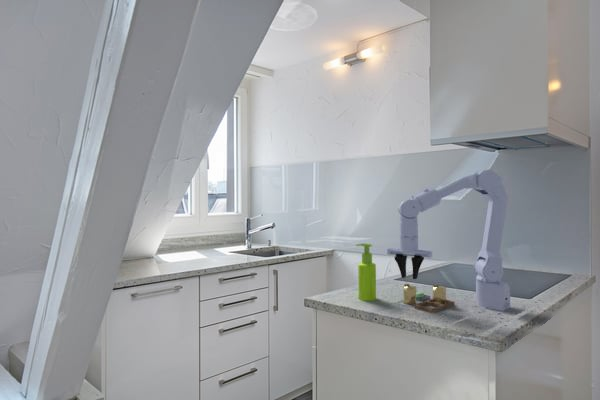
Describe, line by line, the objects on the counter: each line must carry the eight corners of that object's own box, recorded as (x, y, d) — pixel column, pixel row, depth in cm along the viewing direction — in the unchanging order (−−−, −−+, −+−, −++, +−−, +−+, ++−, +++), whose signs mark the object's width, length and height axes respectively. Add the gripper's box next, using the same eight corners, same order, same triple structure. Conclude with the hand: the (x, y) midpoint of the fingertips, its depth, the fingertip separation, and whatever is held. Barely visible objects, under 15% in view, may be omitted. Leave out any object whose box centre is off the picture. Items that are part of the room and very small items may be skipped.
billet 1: (418, 305, 128) (418, 285, 128) (411, 307, 126) (411, 286, 125) (408, 302, 131) (408, 283, 131) (400, 304, 129) (401, 284, 129)
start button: (425, 301, 133) (425, 293, 133) (421, 303, 131) (420, 294, 131) (418, 299, 136) (418, 291, 136) (413, 301, 134) (413, 293, 134)
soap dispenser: (363, 298, 140) (362, 242, 140) (379, 301, 135) (378, 243, 135) (352, 301, 135) (352, 243, 135) (369, 305, 131) (368, 245, 130)
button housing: (430, 302, 133) (430, 295, 133) (422, 305, 130) (422, 298, 130) (417, 299, 137) (417, 293, 137) (409, 302, 134) (408, 295, 134)
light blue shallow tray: (425, 306, 129) (425, 302, 129) (411, 311, 123) (411, 307, 123) (407, 302, 134) (407, 298, 134) (394, 306, 128) (394, 302, 128)
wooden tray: (456, 308, 125) (456, 301, 125) (435, 317, 117) (435, 309, 117) (433, 304, 131) (433, 297, 131) (412, 311, 123) (412, 304, 123)
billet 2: (448, 306, 126) (448, 285, 126) (442, 308, 123) (441, 287, 123) (437, 303, 129) (436, 283, 129) (430, 305, 126) (430, 285, 126)
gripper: (435, 236, 127) (435, 278, 127) (393, 234, 136) (393, 273, 136) (427, 238, 122) (428, 282, 122) (384, 236, 130) (384, 277, 130)
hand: (409, 278), depth 128 cm, fingers open, 3 cm apart
